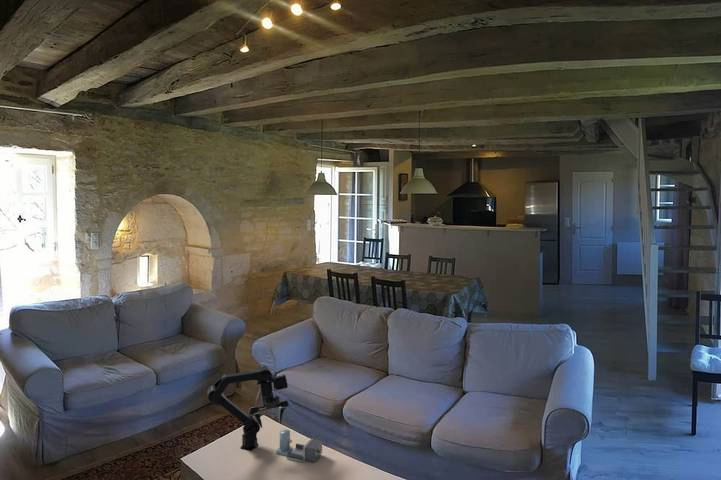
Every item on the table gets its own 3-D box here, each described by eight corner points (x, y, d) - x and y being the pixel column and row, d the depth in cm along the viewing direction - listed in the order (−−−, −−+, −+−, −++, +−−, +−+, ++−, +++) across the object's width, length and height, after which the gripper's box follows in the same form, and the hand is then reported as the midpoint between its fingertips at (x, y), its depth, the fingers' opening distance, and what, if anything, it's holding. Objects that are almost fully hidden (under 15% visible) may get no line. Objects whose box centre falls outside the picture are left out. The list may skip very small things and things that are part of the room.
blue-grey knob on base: (276, 453, 235) (276, 433, 234) (282, 447, 241) (282, 428, 240) (288, 456, 233) (288, 436, 232) (294, 450, 238) (294, 430, 237)
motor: (286, 459, 230) (286, 444, 230) (297, 447, 241) (297, 434, 240) (316, 465, 225) (316, 451, 225) (325, 453, 236) (325, 439, 235)
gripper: (250, 396, 229) (254, 431, 226) (288, 389, 236) (293, 422, 233) (246, 396, 239) (250, 429, 236) (284, 388, 246) (288, 420, 243)
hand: (271, 425), depth 237 cm, fingers open, 9 cm apart
